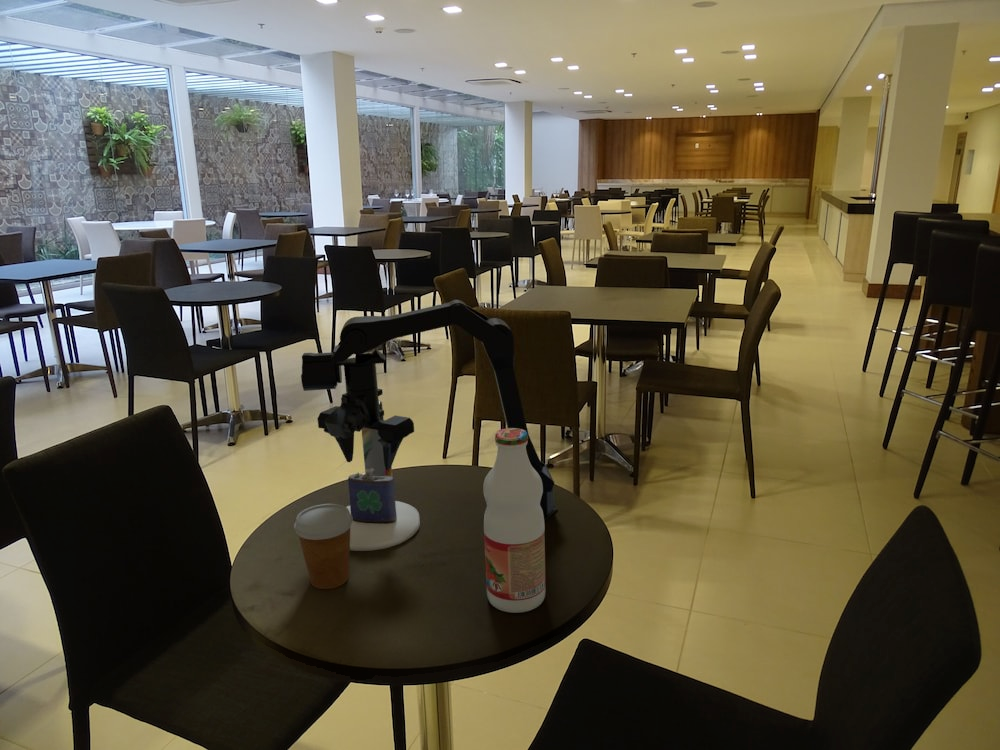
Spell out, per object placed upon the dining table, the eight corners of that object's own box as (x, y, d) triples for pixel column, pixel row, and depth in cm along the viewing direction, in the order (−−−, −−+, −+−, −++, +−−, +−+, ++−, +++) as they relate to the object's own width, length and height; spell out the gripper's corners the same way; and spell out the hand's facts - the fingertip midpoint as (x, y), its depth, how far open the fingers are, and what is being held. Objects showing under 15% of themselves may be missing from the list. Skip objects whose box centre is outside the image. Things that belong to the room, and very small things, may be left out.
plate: (437, 517, 142) (437, 510, 142) (381, 559, 127) (380, 551, 127) (366, 500, 151) (365, 493, 150) (305, 538, 136) (304, 531, 135)
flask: (398, 518, 139) (394, 467, 136) (393, 525, 136) (389, 473, 133) (354, 515, 141) (349, 464, 138) (348, 522, 138) (342, 471, 135)
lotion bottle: (395, 483, 159) (389, 397, 153) (389, 494, 153) (382, 405, 148) (370, 483, 159) (363, 397, 154) (363, 494, 154) (355, 405, 148)
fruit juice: (540, 617, 109) (537, 445, 101) (480, 611, 111) (472, 442, 103) (549, 583, 118) (547, 423, 110) (494, 578, 120) (487, 421, 112)
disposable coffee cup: (308, 601, 115) (300, 534, 112) (295, 573, 123) (287, 510, 120) (365, 584, 119) (359, 519, 116) (349, 559, 128) (343, 497, 124)
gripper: (292, 392, 129) (301, 473, 133) (374, 405, 120) (381, 490, 124) (334, 377, 138) (341, 452, 142) (413, 387, 129) (418, 467, 134)
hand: (368, 465), depth 135 cm, fingers open, 9 cm apart
